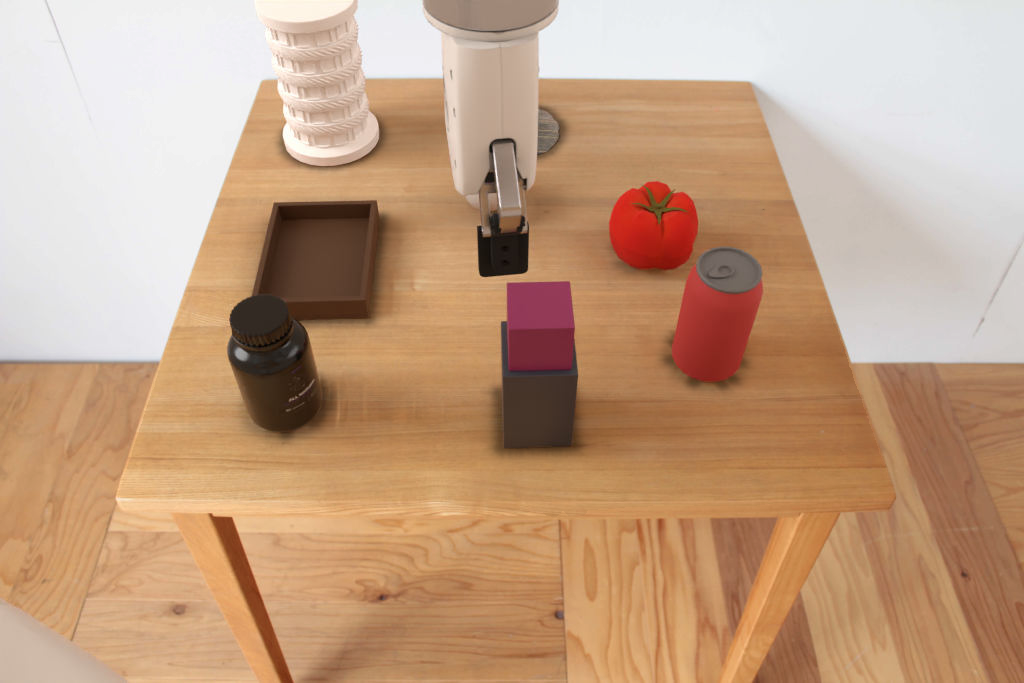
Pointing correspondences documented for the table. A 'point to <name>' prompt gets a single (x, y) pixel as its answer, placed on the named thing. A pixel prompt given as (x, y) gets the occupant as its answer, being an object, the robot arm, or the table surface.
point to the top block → (540, 326)
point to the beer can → (717, 314)
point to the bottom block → (537, 403)
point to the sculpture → (546, 131)
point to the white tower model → (320, 79)
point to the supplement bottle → (273, 364)
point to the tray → (320, 258)
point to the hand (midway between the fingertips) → (494, 224)
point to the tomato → (653, 227)
